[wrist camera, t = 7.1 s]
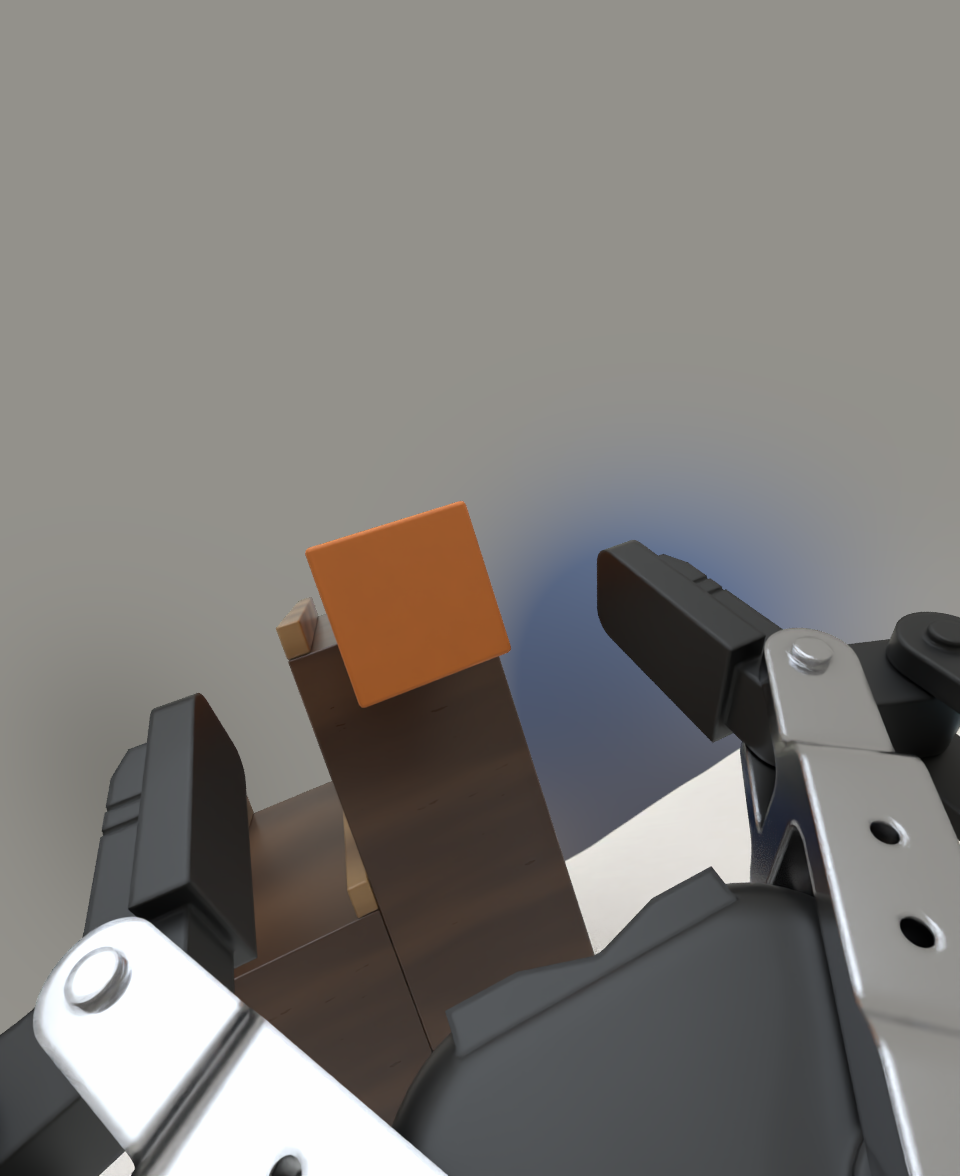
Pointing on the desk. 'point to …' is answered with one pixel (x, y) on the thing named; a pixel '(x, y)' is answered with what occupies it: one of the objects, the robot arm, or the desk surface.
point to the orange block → (409, 602)
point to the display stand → (400, 870)
